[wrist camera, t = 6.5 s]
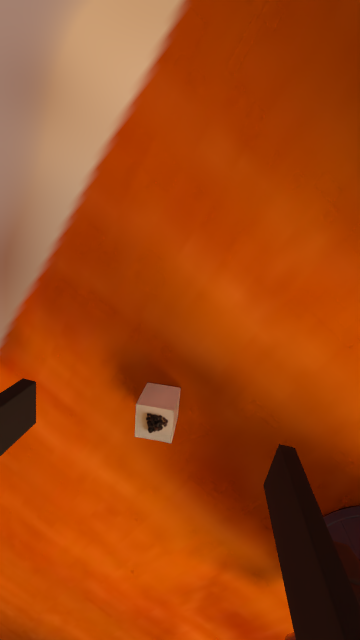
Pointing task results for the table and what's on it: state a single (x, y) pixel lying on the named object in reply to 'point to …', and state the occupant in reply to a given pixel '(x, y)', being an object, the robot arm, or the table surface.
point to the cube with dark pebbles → (157, 412)
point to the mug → (343, 533)
